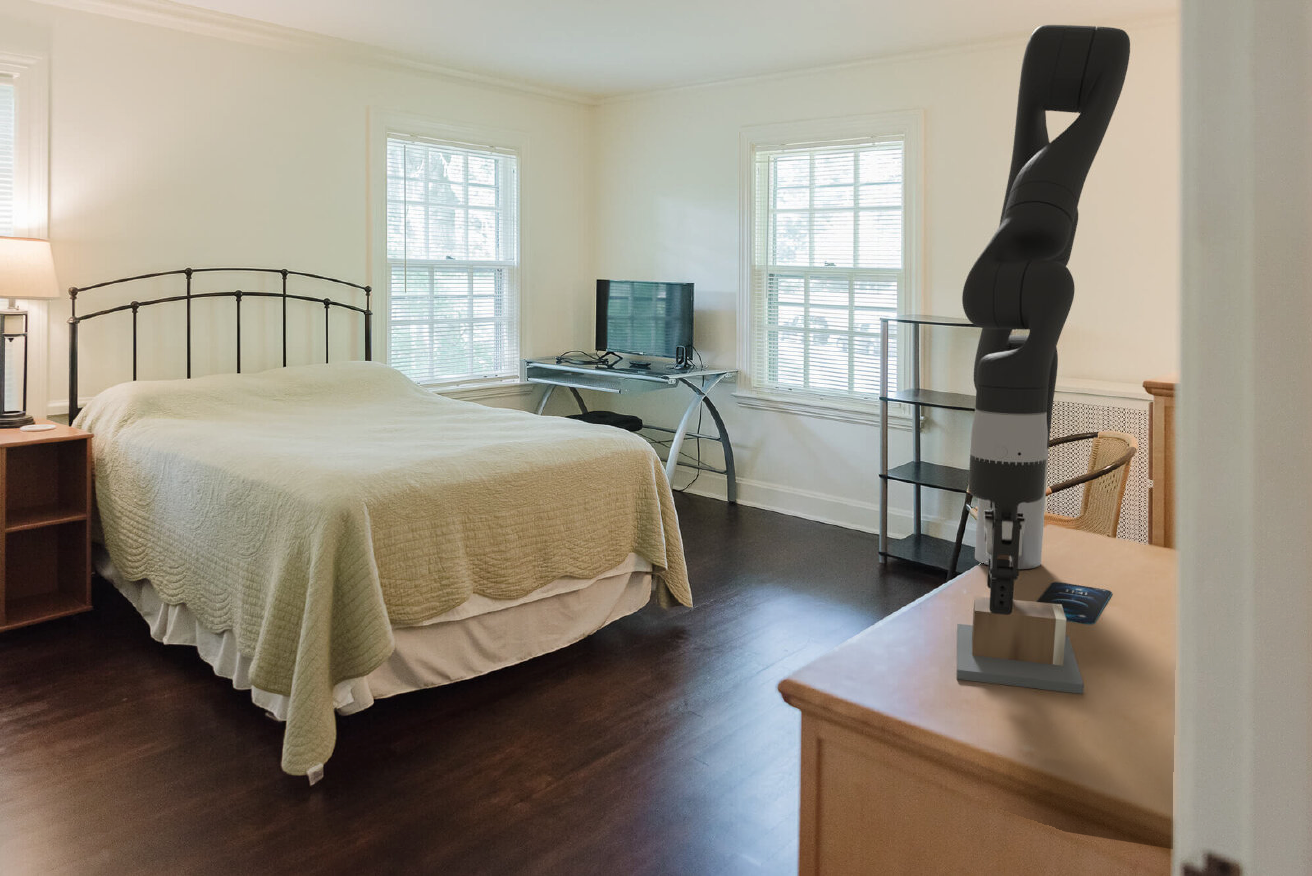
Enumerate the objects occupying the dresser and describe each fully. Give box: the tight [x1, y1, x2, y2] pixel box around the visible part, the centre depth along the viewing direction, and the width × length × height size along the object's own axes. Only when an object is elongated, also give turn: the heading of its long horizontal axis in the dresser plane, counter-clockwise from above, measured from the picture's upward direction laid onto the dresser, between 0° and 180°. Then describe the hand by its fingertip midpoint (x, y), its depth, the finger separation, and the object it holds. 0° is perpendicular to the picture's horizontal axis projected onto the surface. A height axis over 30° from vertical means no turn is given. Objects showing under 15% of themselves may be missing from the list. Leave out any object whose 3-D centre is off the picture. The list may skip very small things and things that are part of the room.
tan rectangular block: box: [972, 595, 1067, 666], centre depth 101 cm, size 5×5×9 cm
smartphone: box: [1036, 581, 1113, 626], centre depth 120 cm, size 8×1×15 cm
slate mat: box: [956, 623, 1084, 695], centre depth 101 cm, size 14×12×1 cm
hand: (998, 600), depth 101 cm, fingers open, 8 cm apart
